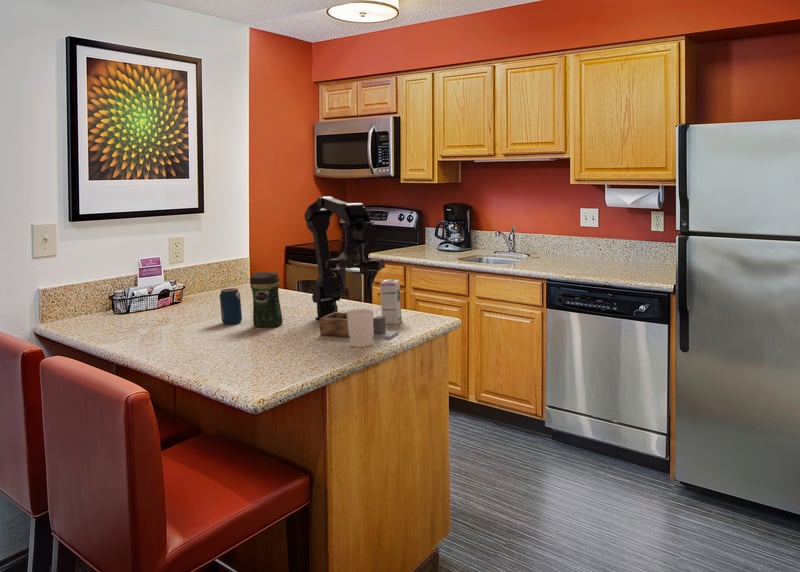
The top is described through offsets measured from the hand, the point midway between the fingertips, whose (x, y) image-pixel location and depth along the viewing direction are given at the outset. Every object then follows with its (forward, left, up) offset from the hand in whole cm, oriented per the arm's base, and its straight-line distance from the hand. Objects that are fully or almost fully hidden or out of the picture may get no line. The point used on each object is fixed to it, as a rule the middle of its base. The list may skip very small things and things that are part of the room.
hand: (356, 290), depth 200 cm
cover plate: (+10, -6, -13) cm, 18 cm away
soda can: (-48, -3, -13) cm, 50 cm away
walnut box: (-2, -6, -13) cm, 14 cm away
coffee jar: (-33, -3, -13) cm, 36 cm away
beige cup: (+9, -17, -13) cm, 24 cm away
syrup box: (+7, +12, -13) cm, 19 cm away
